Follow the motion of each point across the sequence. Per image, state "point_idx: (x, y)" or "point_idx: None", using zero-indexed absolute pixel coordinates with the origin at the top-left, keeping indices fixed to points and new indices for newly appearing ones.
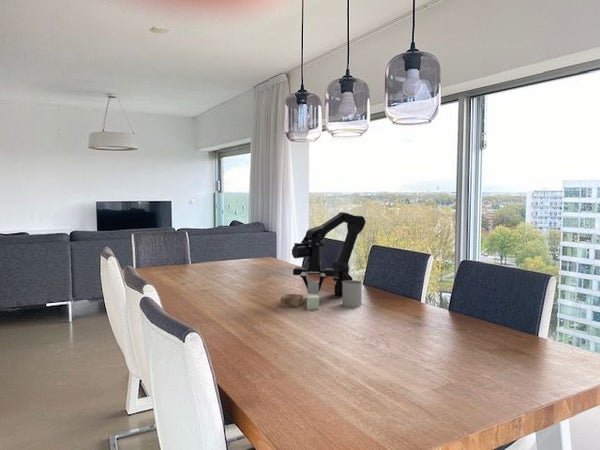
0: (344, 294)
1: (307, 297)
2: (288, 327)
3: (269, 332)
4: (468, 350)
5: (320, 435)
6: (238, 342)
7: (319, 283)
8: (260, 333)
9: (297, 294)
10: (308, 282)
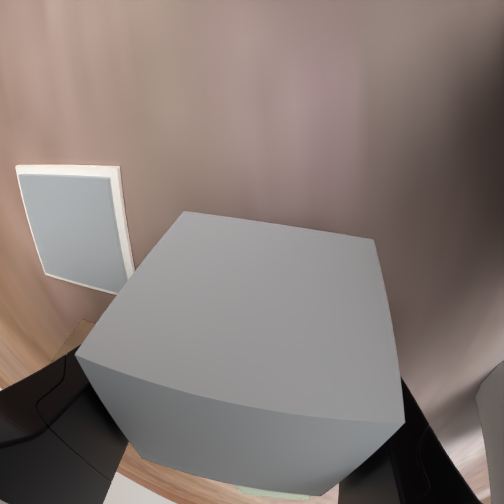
0: (488, 462)
1: (241, 491)
2: (228, 493)
3: (198, 493)
4: (490, 497)
5: None
6: (170, 493)
7: (342, 483)
8: (184, 490)
9: None
10: (145, 453)
